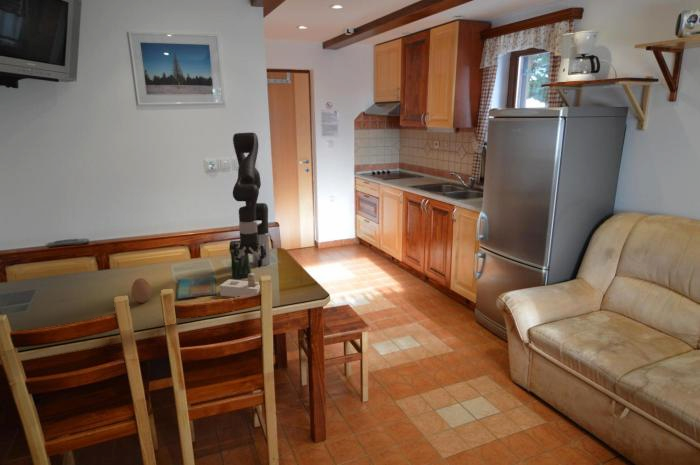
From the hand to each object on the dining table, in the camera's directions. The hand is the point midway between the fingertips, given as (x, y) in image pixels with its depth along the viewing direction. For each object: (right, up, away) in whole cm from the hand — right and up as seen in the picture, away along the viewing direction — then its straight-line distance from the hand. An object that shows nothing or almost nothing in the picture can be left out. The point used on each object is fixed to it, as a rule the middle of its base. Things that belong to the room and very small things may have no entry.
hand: (250, 266), depth 190 cm
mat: (-10, -10, +17) cm, 22 cm away
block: (-4, -13, +4) cm, 14 cm away
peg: (0, -13, +3) cm, 14 cm away
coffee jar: (-11, -7, +27) cm, 30 cm away
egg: (-46, -15, -3) cm, 48 cm away
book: (-27, -12, +11) cm, 32 cm away
